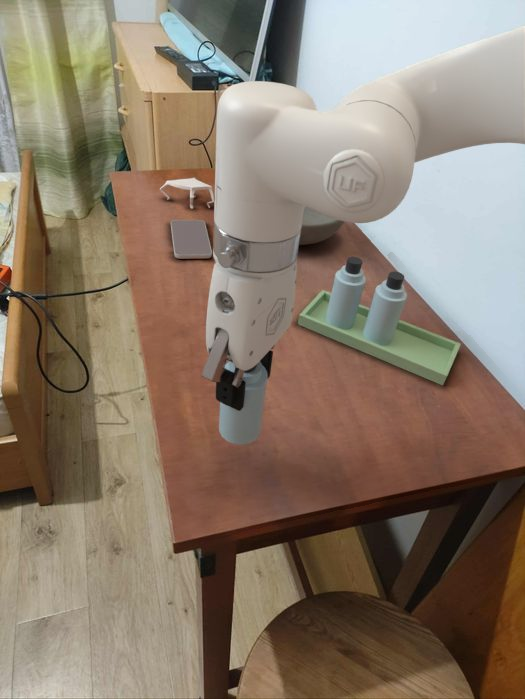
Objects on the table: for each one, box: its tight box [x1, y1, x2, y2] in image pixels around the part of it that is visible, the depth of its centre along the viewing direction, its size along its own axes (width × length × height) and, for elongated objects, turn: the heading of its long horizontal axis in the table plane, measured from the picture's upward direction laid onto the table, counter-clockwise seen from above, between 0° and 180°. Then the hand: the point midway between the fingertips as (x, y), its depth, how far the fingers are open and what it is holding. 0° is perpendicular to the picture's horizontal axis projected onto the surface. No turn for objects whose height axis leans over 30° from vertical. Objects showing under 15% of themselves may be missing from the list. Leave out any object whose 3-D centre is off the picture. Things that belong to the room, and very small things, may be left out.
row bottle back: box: [326, 256, 367, 329], centre depth 85 cm, size 5×5×12 cm
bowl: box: [299, 206, 345, 246], centre depth 109 cm, size 21×21×8 cm
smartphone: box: [170, 219, 213, 260], centre depth 105 cm, size 7×1×15 cm
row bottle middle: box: [363, 270, 408, 345], centre depth 83 cm, size 5×5×12 cm
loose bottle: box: [218, 361, 269, 446], centre depth 57 cm, size 5×5×12 cm
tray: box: [297, 289, 462, 387], centre depth 86 cm, size 26×10×2 cm, turn 60°
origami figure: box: [159, 177, 215, 210], centre depth 117 cm, size 12×8×5 cm
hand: (243, 387), depth 56 cm, fingers closed on loose bottle, 5 cm apart
